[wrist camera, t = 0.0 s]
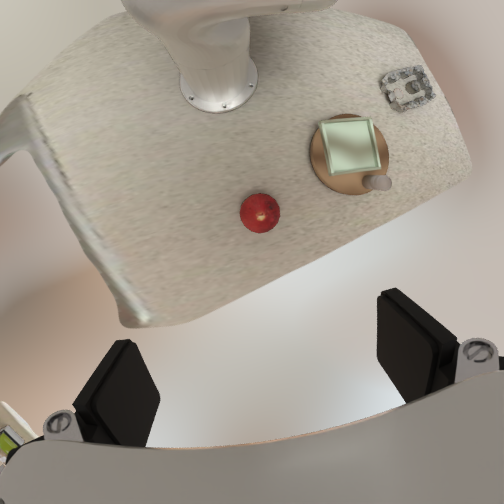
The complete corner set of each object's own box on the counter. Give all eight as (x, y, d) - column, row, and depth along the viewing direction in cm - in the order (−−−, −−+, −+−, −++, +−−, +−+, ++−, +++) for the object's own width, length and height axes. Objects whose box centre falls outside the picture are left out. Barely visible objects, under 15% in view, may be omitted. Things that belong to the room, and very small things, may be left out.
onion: (265, 185, 44) (269, 186, 36) (283, 216, 46) (291, 223, 38) (233, 204, 45) (231, 210, 37) (252, 235, 46) (254, 246, 38)
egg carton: (392, 116, 42) (403, 112, 38) (373, 79, 40) (382, 72, 36) (430, 102, 41) (441, 98, 37) (413, 68, 39) (423, 62, 35)
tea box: (16, 444, 66) (4, 464, 51) (0, 428, 64) (-13, 448, 49) (25, 441, 64) (11, 463, 50) (8, 424, 62) (-8, 445, 47)
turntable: (302, 120, 40) (314, 108, 33) (375, 114, 40) (397, 104, 32) (318, 200, 44) (333, 204, 36) (388, 188, 43) (413, 191, 36)
